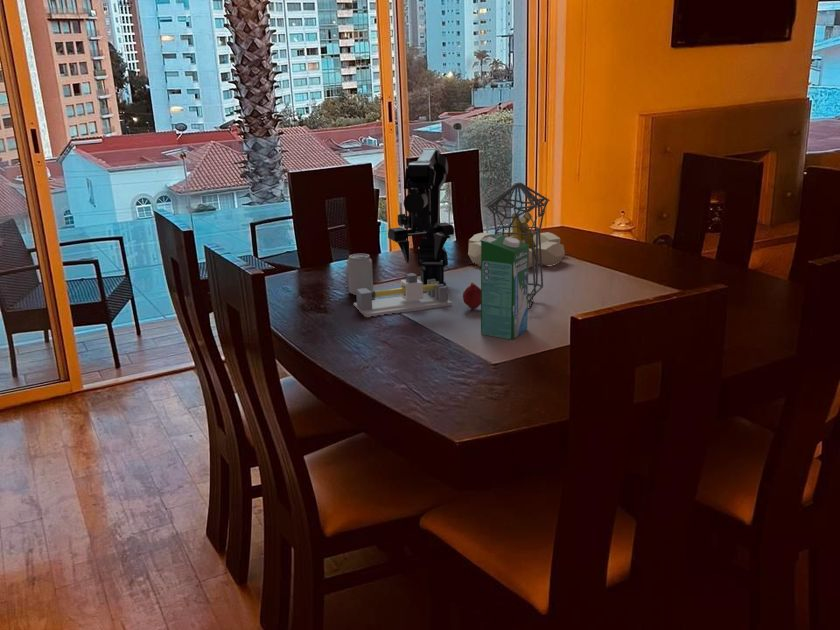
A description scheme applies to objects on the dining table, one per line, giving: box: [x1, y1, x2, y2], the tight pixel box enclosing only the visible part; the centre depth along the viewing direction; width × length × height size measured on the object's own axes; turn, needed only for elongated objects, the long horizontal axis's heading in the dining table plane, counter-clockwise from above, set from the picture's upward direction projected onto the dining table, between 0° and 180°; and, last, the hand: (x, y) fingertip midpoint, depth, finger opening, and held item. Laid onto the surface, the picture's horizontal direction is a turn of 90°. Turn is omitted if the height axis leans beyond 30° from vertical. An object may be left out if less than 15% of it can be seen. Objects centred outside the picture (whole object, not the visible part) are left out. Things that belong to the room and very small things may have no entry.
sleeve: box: [400, 272, 424, 301], centre depth 220 cm, size 5×5×7 cm
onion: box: [462, 281, 481, 311], centre depth 215 cm, size 6×6×8 cm
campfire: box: [467, 212, 566, 269], centre depth 270 cm, size 35×34×17 cm
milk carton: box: [480, 233, 530, 341], centre depth 193 cm, size 9×9×25 cm
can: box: [347, 253, 374, 296], centre depth 233 cm, size 8×8×12 cm
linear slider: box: [353, 279, 453, 318], centre depth 220 cm, size 26×12×6 cm, turn 111°
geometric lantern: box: [485, 182, 551, 307], centre depth 215 cm, size 16×16×35 cm
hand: (421, 260), depth 221 cm, fingers open, 9 cm apart
